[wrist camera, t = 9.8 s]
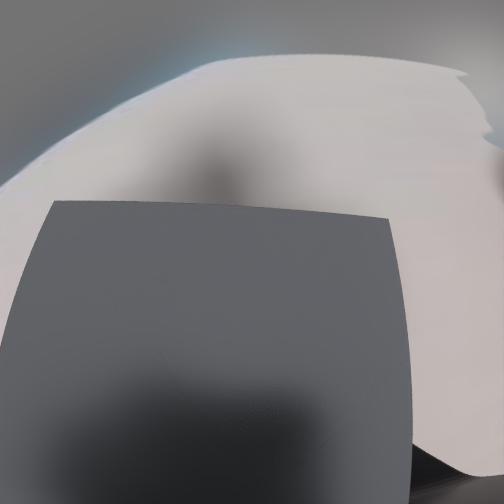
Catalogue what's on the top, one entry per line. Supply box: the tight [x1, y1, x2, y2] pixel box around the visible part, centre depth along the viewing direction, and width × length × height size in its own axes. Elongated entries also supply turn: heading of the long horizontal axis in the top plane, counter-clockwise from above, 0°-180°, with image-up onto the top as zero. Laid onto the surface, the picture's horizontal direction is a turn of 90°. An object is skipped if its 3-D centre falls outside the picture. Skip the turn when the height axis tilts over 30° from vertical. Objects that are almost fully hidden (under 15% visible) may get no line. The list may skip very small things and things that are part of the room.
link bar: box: [0, 201, 413, 504], centre depth 8 cm, size 4×4×13 cm
